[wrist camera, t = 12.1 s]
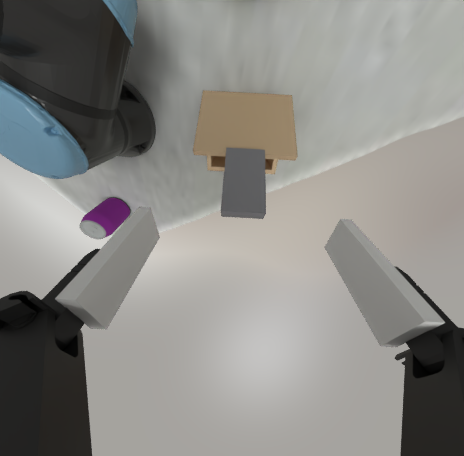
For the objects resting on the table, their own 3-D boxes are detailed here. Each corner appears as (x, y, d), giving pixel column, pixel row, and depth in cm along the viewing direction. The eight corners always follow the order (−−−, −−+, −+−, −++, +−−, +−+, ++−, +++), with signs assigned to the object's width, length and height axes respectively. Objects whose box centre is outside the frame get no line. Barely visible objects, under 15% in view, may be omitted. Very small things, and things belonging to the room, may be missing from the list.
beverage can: (126, 220, 56) (104, 245, 47) (103, 207, 53) (73, 231, 44) (135, 206, 52) (111, 229, 43) (109, 191, 50) (79, 213, 40)
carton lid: (184, 214, 20) (180, 208, 18) (204, 95, 27) (202, 84, 25) (300, 221, 20) (306, 215, 18) (290, 100, 27) (293, 89, 25)
